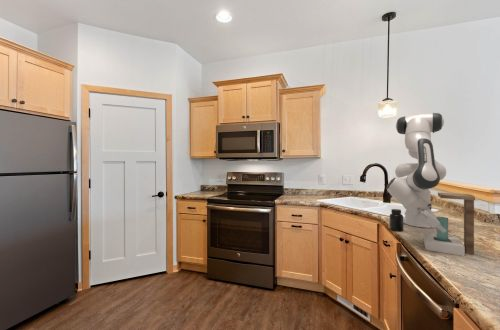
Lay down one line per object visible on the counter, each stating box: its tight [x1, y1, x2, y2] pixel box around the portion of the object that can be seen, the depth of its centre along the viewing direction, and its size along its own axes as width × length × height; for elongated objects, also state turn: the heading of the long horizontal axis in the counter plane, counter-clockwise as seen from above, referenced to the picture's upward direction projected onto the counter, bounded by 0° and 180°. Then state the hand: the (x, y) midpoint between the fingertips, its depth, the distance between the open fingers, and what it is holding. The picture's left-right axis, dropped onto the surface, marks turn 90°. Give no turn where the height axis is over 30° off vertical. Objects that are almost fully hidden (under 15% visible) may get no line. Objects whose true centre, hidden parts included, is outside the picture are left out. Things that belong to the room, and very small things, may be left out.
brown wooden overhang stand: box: [437, 192, 476, 255], centre depth 103 cm, size 10×11×25 cm
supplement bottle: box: [389, 208, 405, 233], centre depth 135 cm, size 7×7×12 cm
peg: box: [436, 216, 449, 242], centre depth 106 cm, size 4×4×12 cm
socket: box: [422, 233, 466, 257], centre depth 106 cm, size 13×13×4 cm
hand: (444, 230), depth 105 cm, fingers closed on peg, 4 cm apart
